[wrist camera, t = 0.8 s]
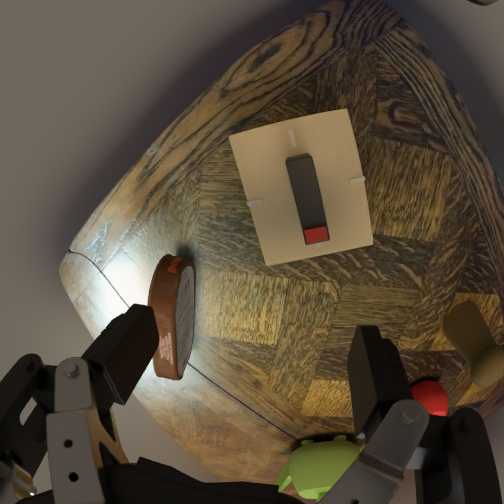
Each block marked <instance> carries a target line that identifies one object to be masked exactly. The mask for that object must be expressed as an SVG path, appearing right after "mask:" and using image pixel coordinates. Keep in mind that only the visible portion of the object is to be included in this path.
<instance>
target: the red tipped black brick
mask: <svg viewBox="0 0 504 504" xmlns="http://www.w3.org/2000/svg"><path fill="white" fill-rule="evenodd" d="M285 164H286V167H287V171H288V175H289V179H290V183H291V187H292V190H293V194H294V198H295V202H296V207H297V211H298V215H299V219H300V223H301V228H302V232H303V236H304V241H305V244H306V245H310V244H315V243H320V242H324V241H329V240H330V236H329V230H328V225H327V220H326V215H325V211H324V206H323V201H322V197H321V192H320V188H319V183H318V179H317V175H316V171H315V167H314V163H313V159H312V156H311V155H310V154H308V153H305V154H300V155H296V156H291V157H287V159H286V162H285Z"/></svg>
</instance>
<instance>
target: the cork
mask: <svg viewBox="0 0 504 504" xmlns="http://www.w3.org/2000/svg"><path fill="white" fill-rule="evenodd" d="M443 333H444V335H445V336H446V338H447V339H448V340H449V341H450V342H451V343H452V345H453V346H454V347H455V348H456V350H457V351H458V352H459V353H460V354H461V356H462V357H463V358H464V359H465V361H466V362H467V363H468V364H469V366H470V367H471V372H470V373H471V377H472V380H473V382H474V383H475V384H476V385H477V386H479V387H481V388H484V387H488V386H490V385H492V384H494V383H495V382H496V381H498V380H499V379H500V378H501V377H502V375H503V374H504V348H503V347H502V346H500V345H496V343H495V340H494V338H493V336H492V334H491V332H490V330H489V328H488V326H487V324H486V322H485V321H484V319H483V317H482V315H481V313H480V311H479V310H478V308H477V306H476V305H475V304H474V303H473V302H469V301H468V302H463V303H461V304H459V305H457V306H456V307H455V308H454V309H453V310H452V311H451V312H450V313H449V314H448V315H447V317H446V319H445V321H444V324H443Z"/></svg>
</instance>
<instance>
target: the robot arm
mask: <svg viewBox="0 0 504 504" xmlns="http://www.w3.org/2000/svg"><path fill="white" fill-rule="evenodd" d="M159 341H160V336H159V332H158V327H157V323H156V319H155V314H154V310H153V308H152V307H151V306H146V305H140V304H133V305H132V306H131V307H130V308H129V309H128V310H127V312H126V313H125V314H123V313H122V314H121V315H119V316H118V317H116V318H114V319H113V320H112V321H111V322H110V323H109V324H108V325H107V327H106V329H104V330H103V331H102V332H101V335H99V336H98V337H97V338H96V339H95V341H94V342H93V343H92V344H91V345H90V347H89V348H88V349H87V350H86V351H85V353H84V354H83V355H82V356H81V357H80V358H79V357H71V358H68V359H66V360H64V361H62V362H61V363H60V364H59V365H58V366H51V365H44V363H43V361H42V360H41V358H40V357H39V356H38V355H37V354H27V355H25V356H23V357H21V358H20V359H19V360H18V361H17V362H16V363H15V364H14V366H13V367H12V368H11V369H10V371H9V372H8V373H7V374H6V376H5V377H4V378H3V379H2V381H1V382H0V504H305V503H303V502H302V501H301V500H299V499H297V498H295V497H293V496H290V495H288V494H285V493H281V492H278V490H279V485H271V484H260V483H251V482H243V481H241V482H221V483H204V482H201V481H198V480H196V479H194V478H192V477H190V476H188V475H186V474H184V473H182V472H180V471H178V470H176V469H175V468H173V467H171V466H168V465H164V464H161V463H158V462H155V461H152V460H149V459H146V458H143V457H139V459H138V462H137V463H129V461H128V459H127V457H126V455H125V454H124V452H123V449H122V447H121V443H120V439H119V436H118V432H117V427H116V424H115V419H114V414H113V410H112V408H111V406H112V405H113V403H114V402H115V403H118V404H121V405H125V404H126V402H127V400H128V398H129V397H130V395H131V393H132V391H133V390H134V388H135V386H136V385H137V383H138V381H139V379H140V378H141V376H142V374H143V373H144V371H145V369H146V368H147V366H148V364H149V362H150V361H151V359H152V357H153V356H154V354H155V352H156V351H157V349H158V346H159ZM347 371H348V378H349V385H350V393H351V401H352V409H353V418H354V428H355V439H361V438H365V442H366V446H365V447H364V448H363V450H362V451H361V452H360V454H359V455H358V456H357V458H356V459H355V460H354V461H353V463H352V464H351V465H350V466H349V468H348V469H347V470H346V471H345V472H344V474H343V475H342V476H341V477H340V478H339V479H338V481H337V482H336V483H335V484H334V485H333V486H332V487H331V488H330V490H329V491H328V492H327V493H326V494H325V495H324V496H323V497H322V498H321V499H320V500H319V501H318V502H317V503H316V504H388V503H389V501H390V500H391V498H392V497H393V495H394V494H395V492H396V491H397V489H398V488H399V486H400V484H401V483H402V481H403V478H404V476H403V475H402V474H403V472H404V470H405V469H412V470H415V482H416V499H417V504H502V498H501V492H500V485H499V480H498V475H497V470H496V465H495V461H494V457H493V453H492V449H491V445H490V442H489V438H488V435H487V431H486V428H485V425H484V422H483V419H482V417H481V415H480V414H479V413H478V412H477V411H475V410H474V409H471V408H461V409H458V410H457V411H456V412H455V413H454V414H453V415H452V416H451V417H447V416H440V415H433V414H429V413H428V411H427V409H426V407H425V406H424V405H423V404H421V403H420V402H418V401H416V400H414V397H413V394H412V391H411V388H410V384H409V381H408V378H407V375H406V372H405V369H404V368H403V364H402V361H401V360H400V355H399V352H398V349H397V347H396V346H395V345H394V344H393V343H392V342H391V341H390V340H389V339H382V337H381V334H380V332H379V329H378V327H377V326H376V325H358V326H357V327H356V330H355V334H354V337H353V341H352V344H351V348H350V351H349V355H348V361H347ZM31 397H32V398H33V399H34V400H35V402H36V403H37V405H36V406H35V408H34V409H33V411H32V412H31V414H30V415H29V417H28V418H27V420H26V422H25V423H24V425H22V424H21V423H20V414H21V412H22V410H23V408H24V407H25V406H26V404H27V403H28V402H29V400H30V399H31ZM47 450H48V460H49V469H50V477H51V483H52V489H51V490H48V491H46V492H42V493H40V494H37V489H36V487H35V486H34V485H33V481H32V479H33V477H34V475H35V473H36V471H37V469H38V467H39V465H40V463H41V461H42V460H43V458H44V456H45V454H46V452H47Z"/></svg>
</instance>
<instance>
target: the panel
mask: <svg viewBox="0 0 504 504" xmlns="http://www.w3.org/2000/svg"><path fill="white" fill-rule="evenodd" d="M229 140H230V144H231V147H232V150H233V154H234V157H235V160H236V164H237V167H238V171H239V174H240V177H241V181H242V184H243V187H244V191H245V194H246V198H247V201H248V202H246V204H247V206H249V208H250V211H251V215H252V218H253V222H254V225H255V229H256V232H257V236H258V239H259V242H260V246H261V249H262V253H263V256H264V260H265V263H266V266H270V265H275V264H281V263H286V262H291V261H296V260H301V259H305V258H310V257H315V256H320V255H325V254H330V253H335V252H340V251H344V250H349V249H354V248H359V247H363V246H368V245H373V236H372V229H371V221H370V214H369V208H368V202H367V196H366V190H365V184H364V181H365V176H363V174H362V169H361V164H360V159H359V155H358V150H357V146H356V142H355V137H354V133H353V129H352V126H351V122H350V118H349V114H348V111H347V108H345V109H339V110H333V111H328V112H323V113H318V114H313V115H308V116H303V117H298V118H294V119H290V120H285V121H281V122H277V123H273V124H269V125H265V126H262V127H258V128H254V129H251V130H247V131H244V132H240V133H237V134H233V135H230V136H229ZM305 153H308V154H310V155H311V156H312V159H313V163H314V167H315V171H316V175H317V179H318V183H319V188H320V192H321V197H322V201H323V206H324V211H325V215H326V220H327V225H328V230H329V236H330V240H329V241H324V242H320V243H315V244H310V245H306V244H305V241H304V236H303V232H302V228H301V223H300V219H299V215H298V211H297V207H296V202H295V198H294V194H293V190H292V187H291V183H290V179H289V175H288V171H287V167H286V164H285V162H286V159H287V157H291V156H296V155H300V154H305Z"/></svg>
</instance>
